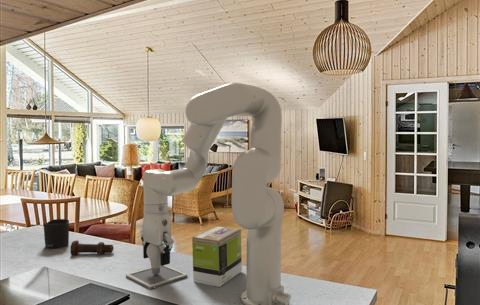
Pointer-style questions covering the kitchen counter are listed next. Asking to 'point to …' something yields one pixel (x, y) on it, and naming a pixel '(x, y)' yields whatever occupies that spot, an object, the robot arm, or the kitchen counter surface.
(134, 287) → the kitchen counter surface
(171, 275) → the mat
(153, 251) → the lightbulb
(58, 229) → the pen holder
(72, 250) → the bolt
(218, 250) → the tea box
